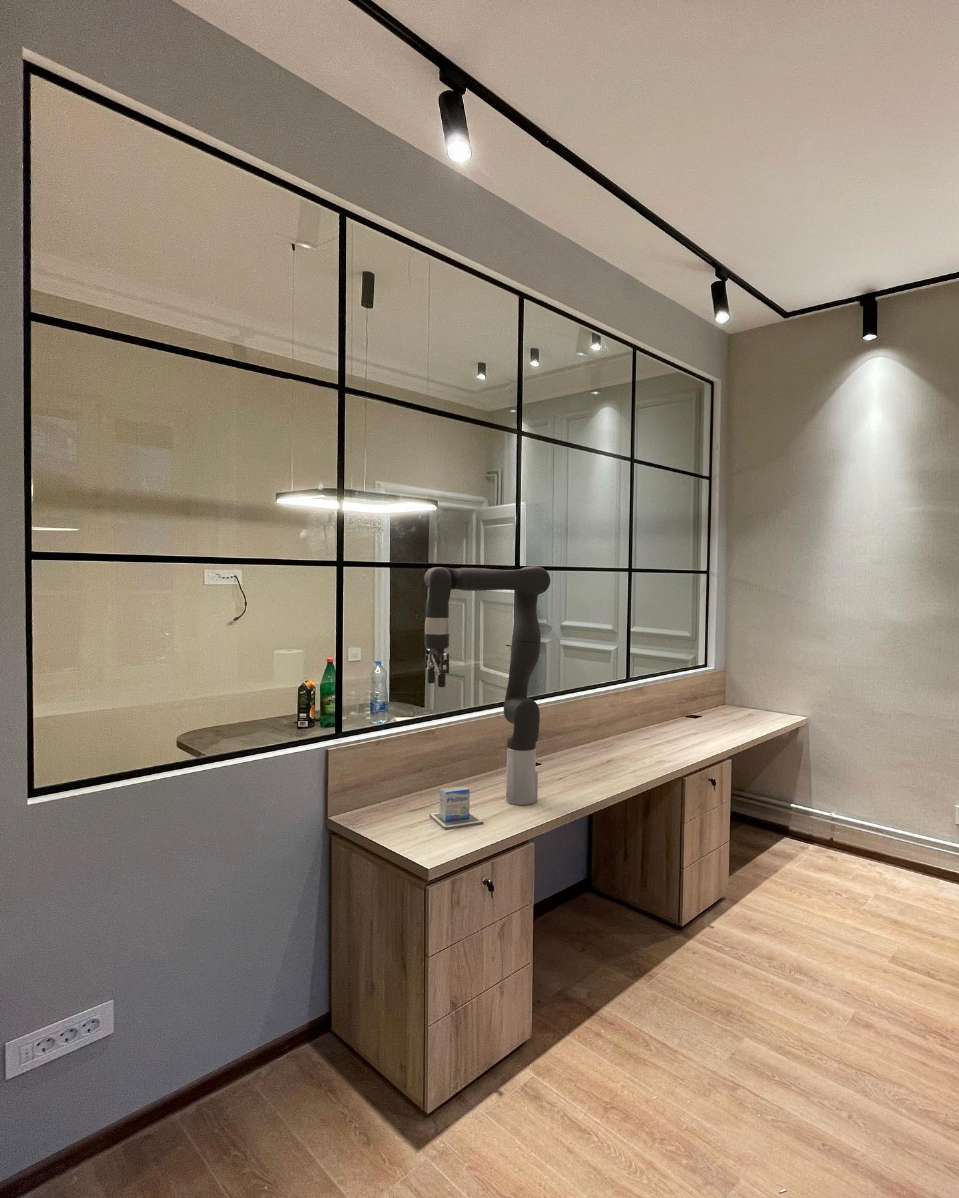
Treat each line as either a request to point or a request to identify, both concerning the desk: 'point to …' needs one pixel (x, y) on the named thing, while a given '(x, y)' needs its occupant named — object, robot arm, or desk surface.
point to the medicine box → (454, 803)
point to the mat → (456, 821)
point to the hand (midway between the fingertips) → (436, 685)
